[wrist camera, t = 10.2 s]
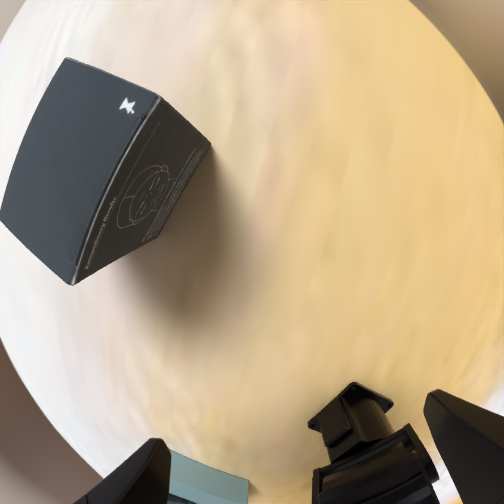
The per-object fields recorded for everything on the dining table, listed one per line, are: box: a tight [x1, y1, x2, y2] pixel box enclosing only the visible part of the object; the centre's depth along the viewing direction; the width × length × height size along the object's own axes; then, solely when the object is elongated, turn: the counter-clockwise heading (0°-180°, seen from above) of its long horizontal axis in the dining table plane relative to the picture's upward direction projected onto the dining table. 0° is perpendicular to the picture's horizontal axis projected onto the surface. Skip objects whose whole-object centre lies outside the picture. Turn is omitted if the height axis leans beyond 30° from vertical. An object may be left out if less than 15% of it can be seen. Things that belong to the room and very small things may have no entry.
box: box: [0, 57, 211, 286], centre depth 13 cm, size 8×6×11 cm
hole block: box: [169, 449, 248, 504], centre depth 24 cm, size 12×12×4 cm
